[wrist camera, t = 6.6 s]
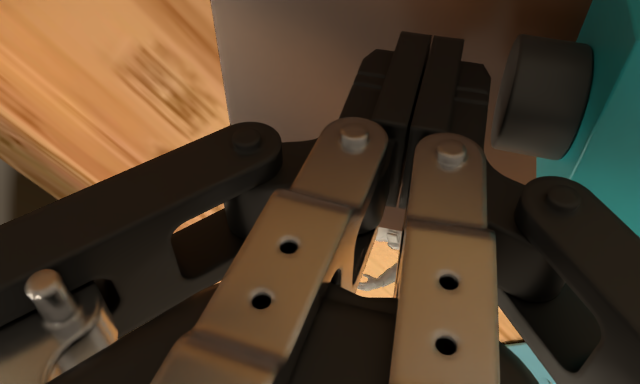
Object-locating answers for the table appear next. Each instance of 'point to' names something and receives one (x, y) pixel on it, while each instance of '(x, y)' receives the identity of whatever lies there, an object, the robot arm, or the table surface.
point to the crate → (354, 45)
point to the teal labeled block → (579, 106)
